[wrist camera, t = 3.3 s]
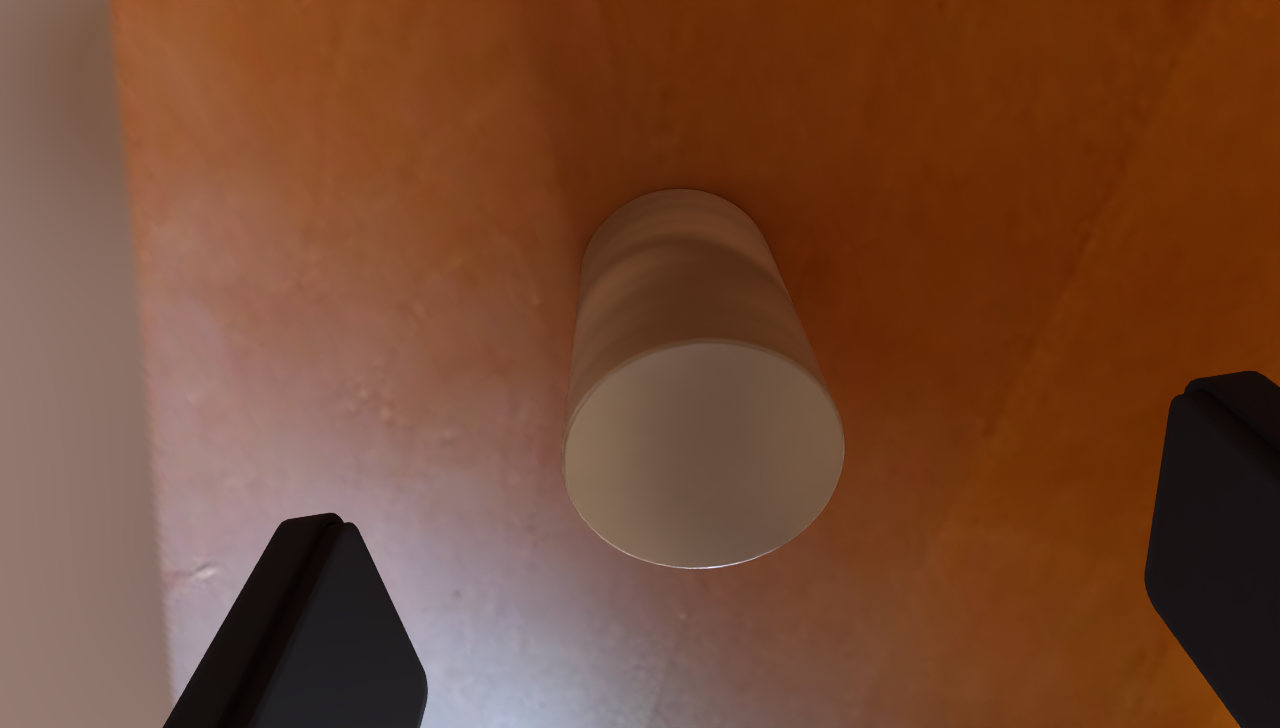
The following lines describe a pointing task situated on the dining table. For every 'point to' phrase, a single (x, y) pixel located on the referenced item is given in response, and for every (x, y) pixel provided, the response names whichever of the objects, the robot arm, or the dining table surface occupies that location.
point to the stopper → (693, 390)
